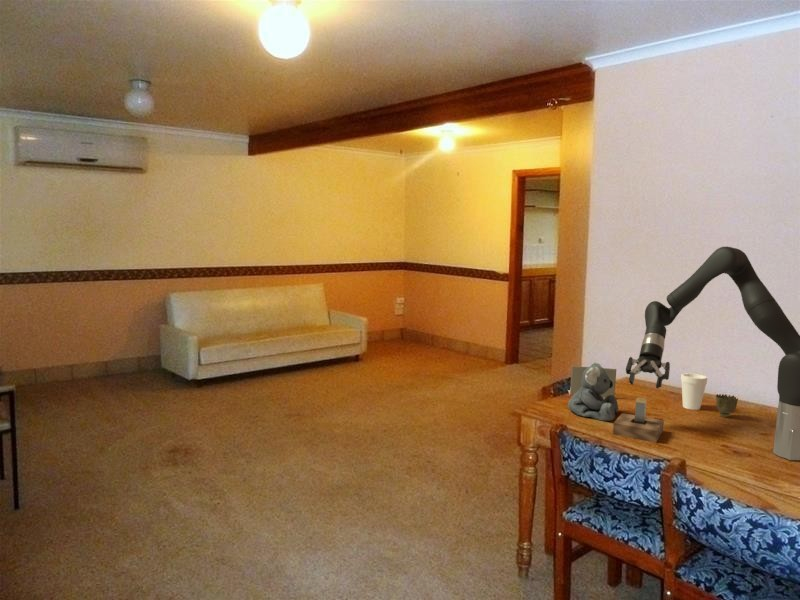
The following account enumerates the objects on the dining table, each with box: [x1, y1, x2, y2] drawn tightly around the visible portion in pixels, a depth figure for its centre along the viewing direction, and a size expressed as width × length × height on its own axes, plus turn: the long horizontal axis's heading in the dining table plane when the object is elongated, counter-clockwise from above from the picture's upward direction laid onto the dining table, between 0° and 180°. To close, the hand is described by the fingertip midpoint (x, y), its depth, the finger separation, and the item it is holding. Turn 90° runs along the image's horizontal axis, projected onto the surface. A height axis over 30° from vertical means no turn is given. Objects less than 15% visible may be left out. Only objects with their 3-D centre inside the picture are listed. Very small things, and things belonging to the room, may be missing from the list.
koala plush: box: [567, 361, 619, 422], centre depth 234 cm, size 17×18×20 cm
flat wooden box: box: [612, 412, 665, 443], centre depth 214 cm, size 14×14×4 cm
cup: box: [715, 393, 739, 418], centre depth 237 cm, size 8×7×8 cm
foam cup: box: [680, 372, 708, 411], centre depth 247 cm, size 10×9×13 cm
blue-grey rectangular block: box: [634, 397, 647, 425], centre depth 213 cm, size 3×3×12 cm
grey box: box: [567, 365, 617, 397], centre depth 264 cm, size 18×13×13 cm
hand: (644, 385), depth 216 cm, fingers open, 8 cm apart
